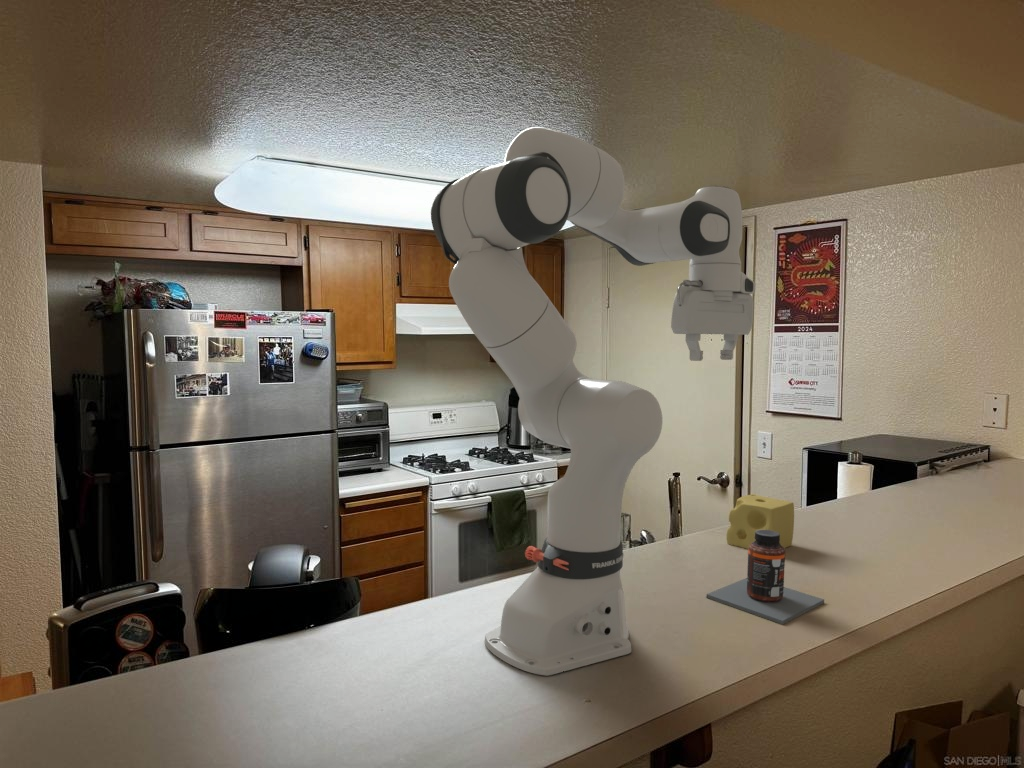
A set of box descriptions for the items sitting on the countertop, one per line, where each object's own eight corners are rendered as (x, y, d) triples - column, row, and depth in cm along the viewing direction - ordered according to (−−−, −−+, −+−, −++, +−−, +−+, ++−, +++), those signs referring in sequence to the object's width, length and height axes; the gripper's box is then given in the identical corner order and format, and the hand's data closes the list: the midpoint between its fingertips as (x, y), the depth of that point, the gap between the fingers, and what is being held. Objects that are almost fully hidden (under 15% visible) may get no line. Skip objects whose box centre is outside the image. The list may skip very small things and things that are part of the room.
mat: (782, 624, 108) (782, 620, 108) (706, 597, 119) (706, 594, 119) (824, 602, 117) (824, 599, 117) (750, 579, 128) (750, 576, 128)
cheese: (725, 544, 149) (727, 499, 149) (751, 535, 156) (753, 492, 156) (770, 556, 142) (772, 509, 141) (795, 546, 149) (797, 501, 148)
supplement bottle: (786, 605, 114) (789, 538, 114) (749, 601, 116) (751, 536, 115) (779, 591, 120) (782, 528, 119) (744, 588, 122) (746, 526, 121)
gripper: (694, 277, 112) (692, 362, 113) (760, 284, 125) (757, 359, 126) (663, 279, 117) (661, 360, 118) (730, 285, 130) (727, 358, 131)
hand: (711, 360), depth 122 cm, fingers open, 8 cm apart
